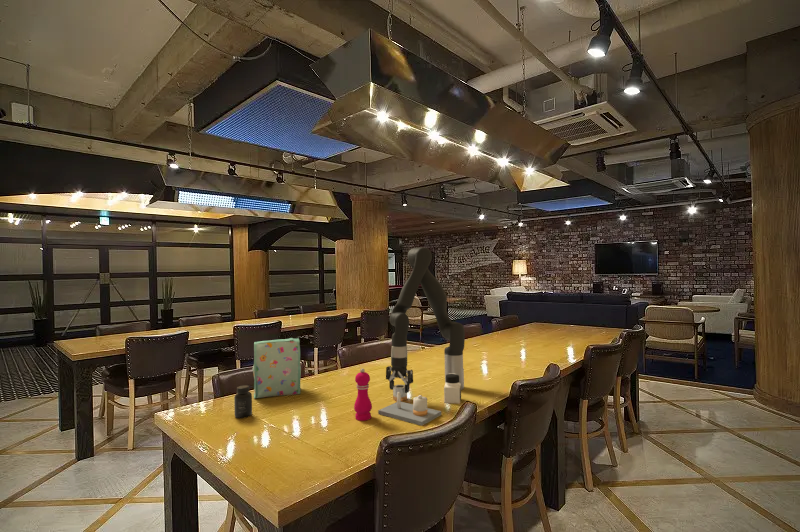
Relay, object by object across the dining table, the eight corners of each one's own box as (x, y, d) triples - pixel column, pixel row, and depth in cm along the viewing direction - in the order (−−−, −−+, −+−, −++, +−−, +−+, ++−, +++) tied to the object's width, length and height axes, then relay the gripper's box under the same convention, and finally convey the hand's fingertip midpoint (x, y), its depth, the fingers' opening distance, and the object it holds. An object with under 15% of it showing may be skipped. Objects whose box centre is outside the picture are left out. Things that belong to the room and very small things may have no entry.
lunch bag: (300, 386, 205) (299, 334, 206) (302, 395, 190) (301, 339, 190) (253, 391, 198) (252, 337, 198) (252, 401, 182) (251, 343, 183)
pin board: (398, 404, 174) (398, 384, 174) (441, 414, 160) (440, 393, 160) (378, 413, 163) (377, 392, 163) (421, 425, 149) (421, 402, 149)
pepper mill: (358, 422, 153) (357, 371, 154) (351, 416, 160) (350, 367, 160) (374, 419, 157) (374, 369, 157) (367, 413, 163) (367, 365, 164)
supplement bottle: (255, 413, 165) (255, 385, 166) (244, 419, 159) (244, 389, 159) (242, 412, 168) (242, 383, 168) (230, 417, 161) (230, 388, 161)
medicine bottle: (460, 403, 173) (459, 376, 173) (444, 403, 175) (443, 376, 175) (461, 398, 180) (460, 372, 180) (445, 398, 182) (445, 372, 182)
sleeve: (391, 400, 180) (390, 387, 180) (399, 396, 185) (399, 383, 185) (400, 402, 177) (400, 389, 177) (409, 398, 182) (408, 385, 182)
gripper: (416, 356, 180) (416, 391, 179) (392, 352, 188) (392, 386, 188) (406, 358, 174) (406, 395, 173) (382, 355, 182) (382, 390, 182)
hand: (399, 390), depth 181 cm, fingers open, 8 cm apart
